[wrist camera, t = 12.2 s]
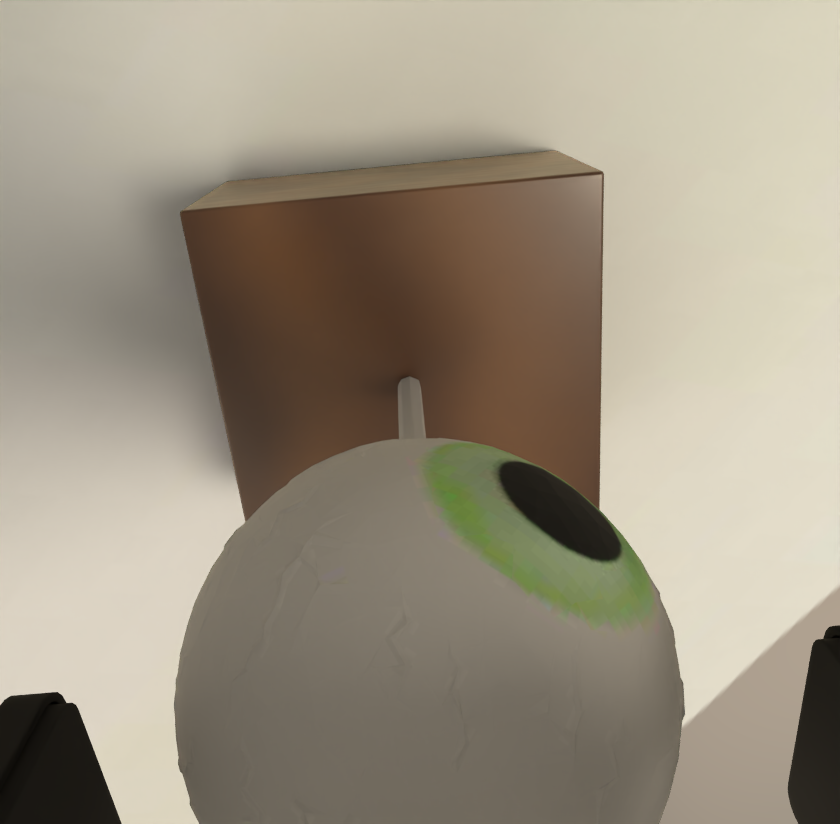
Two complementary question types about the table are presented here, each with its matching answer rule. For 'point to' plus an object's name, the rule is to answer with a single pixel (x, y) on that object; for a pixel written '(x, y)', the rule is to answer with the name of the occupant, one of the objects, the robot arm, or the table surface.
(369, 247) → the walnut block
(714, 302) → the table surface
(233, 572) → the lollipop
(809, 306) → the table surface
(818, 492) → the table surface
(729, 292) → the table surface
